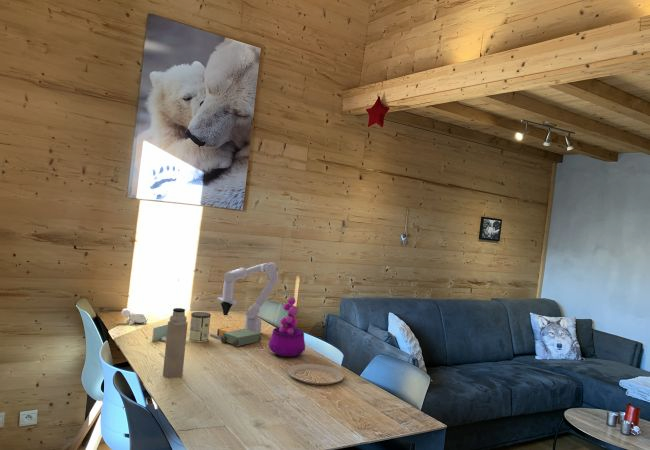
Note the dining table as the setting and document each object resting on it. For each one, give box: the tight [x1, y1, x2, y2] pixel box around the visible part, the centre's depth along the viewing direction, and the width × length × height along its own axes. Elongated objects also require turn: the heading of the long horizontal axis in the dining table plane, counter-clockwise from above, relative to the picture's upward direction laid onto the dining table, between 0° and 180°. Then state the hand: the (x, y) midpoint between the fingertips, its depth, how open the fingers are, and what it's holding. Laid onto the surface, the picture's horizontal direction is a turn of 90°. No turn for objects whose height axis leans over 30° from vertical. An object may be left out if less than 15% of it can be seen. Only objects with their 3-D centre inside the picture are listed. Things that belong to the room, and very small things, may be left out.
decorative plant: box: [268, 296, 306, 358], centre depth 248 cm, size 19×18×30 cm
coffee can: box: [188, 311, 212, 343], centre depth 259 cm, size 10×10×14 cm
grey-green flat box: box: [209, 328, 262, 348], centre depth 267 cm, size 18×25×5 cm
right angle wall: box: [151, 323, 168, 343], centre depth 252 cm, size 12×12×8 cm
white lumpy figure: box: [120, 308, 148, 326], centre depth 280 cm, size 8×8×15 cm
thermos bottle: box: [162, 307, 189, 379], centre depth 203 cm, size 8×8×28 cm
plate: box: [287, 363, 345, 386], centre depth 219 cm, size 26×26×2 cm
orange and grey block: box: [216, 326, 238, 337], centre depth 269 cm, size 9×8×4 cm
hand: (225, 314), depth 284 cm, fingers closed
